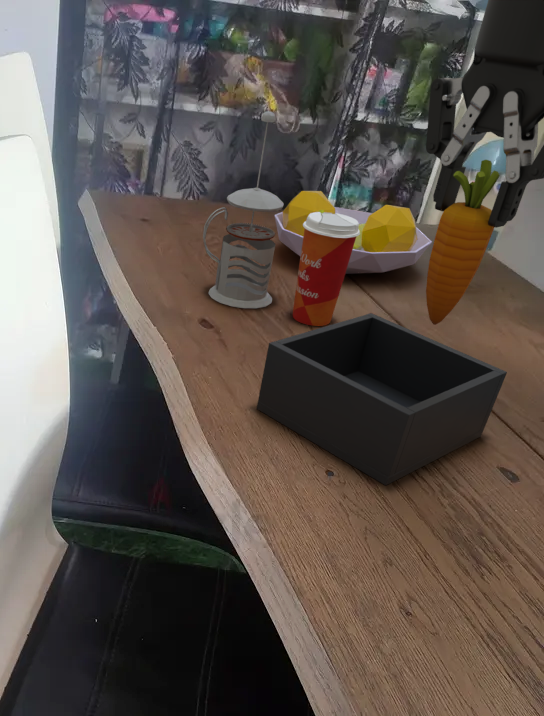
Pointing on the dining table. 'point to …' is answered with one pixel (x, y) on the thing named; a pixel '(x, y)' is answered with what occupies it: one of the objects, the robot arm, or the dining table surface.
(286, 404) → the open dark gray box
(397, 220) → the fruit bowl
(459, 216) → the carrot
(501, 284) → the dining table surface
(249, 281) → the french press
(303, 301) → the paper cup
